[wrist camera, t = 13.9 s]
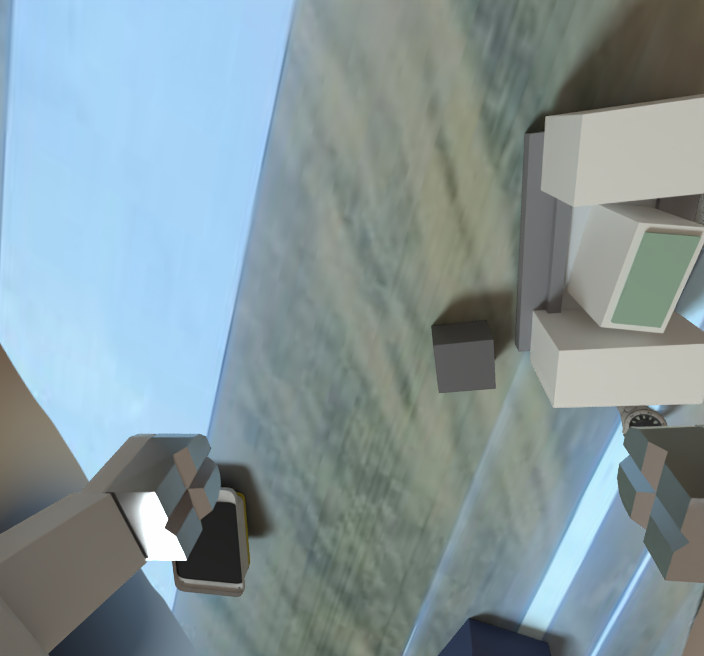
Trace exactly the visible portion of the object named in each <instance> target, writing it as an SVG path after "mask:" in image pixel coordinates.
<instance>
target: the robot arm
mask: <svg viewBox="0 0 704 656" xmlns="http://www.w3.org/2000/svg"><path fill="white" fill-rule="evenodd" d="M623 445H624V447H625V448H626V450H627V451H628V453H629V454H630V455H629V456H628V457H627V458H625V459H624V460H623V461H622V462H621V463H619V469H618V476H617V480H618V488H619V494H620V497H621V500H622V503H623V505H624V507H625V509H626V511H627V513H628V515H629V517H630V518H631V519H632V520H633V521H635V522H636V523H638V524H639V525H640V526H642V527H643V528H645V529H646V533H645V537H644V541H643V542H644V544H645V545H646V547H647V549H648V551H649V553H650V554H651V556H652V558H653V560H654V561H655V563H656V565H657V567H658V568H659V570H660V572H661V574H662V576H663V577H664V579H665V580H668V581H683V582H698V583H704V425H695V426H653V427H630V428H629V429H628V431H627V432H626V434H625V439H624V443H623ZM210 450H211V447H210V445H209V442H208V440H207V438H206V436H203V435H201V434H136V435H134V436H132V437H130V438H129V439H128V440H127V441H126V442H125V443H124V444H123V445H122V446H121V447H120V449H119V450H118V451H117V452H116V453H115V454H114V455H113V456H112V457H111V458H110V460H109V461H108V462H107V463H106V464H105V465H104V466H103V467H102V468H101V469H100V471H99V472H98V473H97V474H96V475H95V476H94V477H93V478H92V479H91V480H90V482H89V483H88V484H87V485H86V486H85V487H84V488H83V489H82V490H81V492H80V493H71V494H70V495H68V496H66V497H64V498H63V499H61V500H60V501H58V502H56V503H54V504H52V505H50V506H49V507H47V508H46V509H44V510H42V511H40V512H38V513H37V514H35V515H33V516H31V517H30V518H28V519H26V520H24V521H23V522H21V523H19V524H18V525H16V526H14V527H12V528H11V529H9V530H8V531H6V532H4V533H2V534H0V656H49V655H48V653H49V652H50V651H51V650H52V649H53V648H54V647H55V646H56V645H57V644H59V643H60V642H61V641H62V640H63V639H64V638H65V637H66V636H67V635H68V634H70V633H71V632H72V631H73V630H74V629H75V628H76V627H77V626H78V625H79V624H80V623H81V622H83V621H84V620H85V619H86V618H87V617H88V616H89V615H90V614H91V613H92V612H93V611H94V610H95V609H97V608H98V607H99V606H100V605H101V604H102V603H103V602H104V601H105V600H106V599H107V598H109V597H110V596H111V595H112V594H113V593H114V592H115V591H116V590H117V589H118V588H119V587H120V586H121V585H122V584H124V583H125V582H126V581H127V580H128V579H129V578H130V577H131V576H132V575H133V574H135V573H136V572H137V571H138V570H139V569H140V568H141V567H142V566H143V565H144V564H145V563H146V562H147V561H146V560H187V558H188V556H189V554H190V553H191V551H192V549H193V547H194V545H195V543H196V541H197V539H198V537H199V535H200V533H201V531H202V530H203V529H202V525H201V519H202V518H203V517H205V516H206V515H207V514H208V513H210V512H211V511H212V510H213V508H214V506H215V504H216V502H217V500H218V497H219V491H220V486H221V479H220V472H219V469H218V466H217V464H216V463H215V462H213V461H212V460H211V459H210V458H209V457H207V456H208V454H209V452H210Z"/></svg>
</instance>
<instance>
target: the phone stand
mask: <svg viewBox="0 0 704 656" xmlns="http://www.w3.org/2000/svg"><path fill="white" fill-rule="evenodd" d="M438 656H551V654H550V650H549V646H548V643H546V642H543V641H540V640H537V639H534V638H530V637H527V636H524V635H521V634H518V633H515V632H511V631H508V630H505V629H502V628H499V627H496V626H492V625H489V624H486V623H483V622H480V621H477V620H473V619H470V618H469V619H468V620H467V621H466V622H465V623H464V625H463V626H462V627H461V628H460V629H459V631H458V632H457V633H456V634H455V636H454V637H453V638H452V639H451V640H450V642H449V643H448V644H447V645H446V647H445V648H444V649H443V650H442V651H441V653H440V654H439V655H438Z"/></svg>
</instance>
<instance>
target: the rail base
mask: <svg viewBox="0 0 704 656" xmlns="http://www.w3.org/2000/svg"><path fill="white" fill-rule="evenodd" d="M702 193H704V94H699V95H692V96H685V97H678V98H671V99H664V100H657V101H650V102H643V103H636V104H629V105H622V106H615V107H608V108H601V109H594V110H587V111H580V112H573V113H566V114H559V115H552V116H546V118H545V131H539V132H532V133H525V136H524V158H523V179H522V201H521V223H520V245H519V267H518V288H517V310H516V332H515V345H516V347H517V349H518V351H530V362H531V364H532V366H533V368H534V370H535V372H536V374H537V376H538V378H539V380H540V382H541V384H542V386H543V388H544V390H545V392H546V394H547V396H548V398H549V400H550V402H551V404H552V406H553V408H562V407H600V406H639V405H677V404H702V401H703V398H704V332H703V331H702V330H701V329H699V328H698V327H696V326H695V325H694V324H692V323H691V322H689V321H688V320H687V319H685V318H684V317H682V316H681V315H680V314H678V313H677V312H675V311H673V313H672V315H671V317H670V320H669V322H668V324H667V326H666V328H665V331H664V333H655V332H645V331H634V330H624V329H614V328H604V327H600V326H599V325H598V324H597V323H596V322H595V321H594V320H593V319H592V318H591V316H590V315H589V314H588V313H587V312H586V311H585V310H584V309H583V308H582V307H581V306H580V305H579V304H578V302H577V301H576V300H575V299H574V298H573V297H572V296H571V295H570V294H569V293H568V292H567V291H566V290H565V289H566V286H567V283H568V280H569V276H570V273H571V270H572V267H573V264H574V260H575V257H576V254H577V251H578V248H579V244H580V241H581V238H582V235H583V231H584V228H585V225H586V222H587V219H588V215H589V212H590V209H591V206H592V205H598V204H607V203H609V204H623V205H637V206H649V207H652V208H655V209H658V210H661V211H664V212H667V213H669V214H672V215H675V216H678V217H681V218H684V219H687V220H689V221H692V222H694V220H695V215H696V211H697V207H698V202H699V198H700V194H702Z"/></svg>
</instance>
